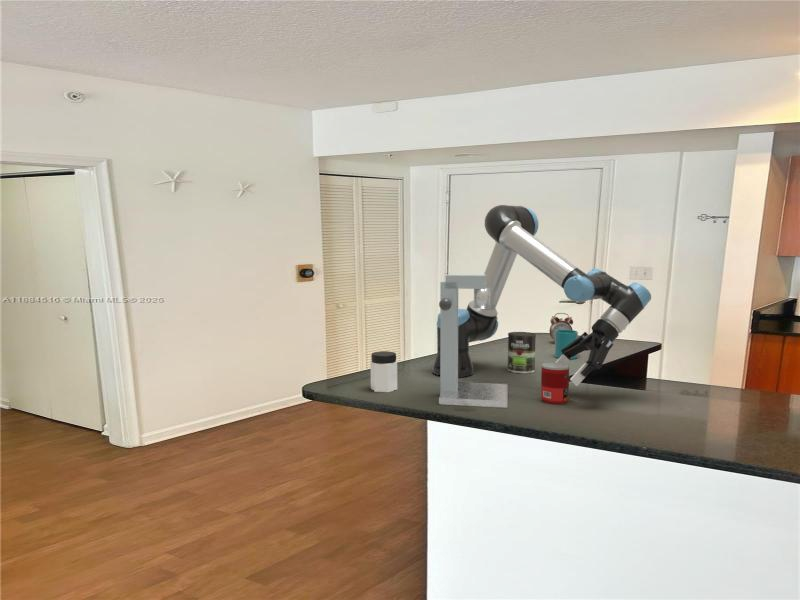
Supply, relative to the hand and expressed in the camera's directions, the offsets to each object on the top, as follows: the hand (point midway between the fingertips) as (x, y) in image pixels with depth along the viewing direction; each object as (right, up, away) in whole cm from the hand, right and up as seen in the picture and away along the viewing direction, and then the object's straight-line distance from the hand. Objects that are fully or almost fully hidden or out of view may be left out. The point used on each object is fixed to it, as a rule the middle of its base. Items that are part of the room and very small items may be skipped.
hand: (562, 377), depth 162 cm
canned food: (-2, -7, +1) cm, 8 cm away
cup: (+22, -1, +66) cm, 70 cm away
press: (-26, -7, +5) cm, 27 cm away
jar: (-54, -6, +16) cm, 57 cm away
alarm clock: (+29, +2, +99) cm, 103 cm away
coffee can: (-3, -4, +42) cm, 42 cm away
